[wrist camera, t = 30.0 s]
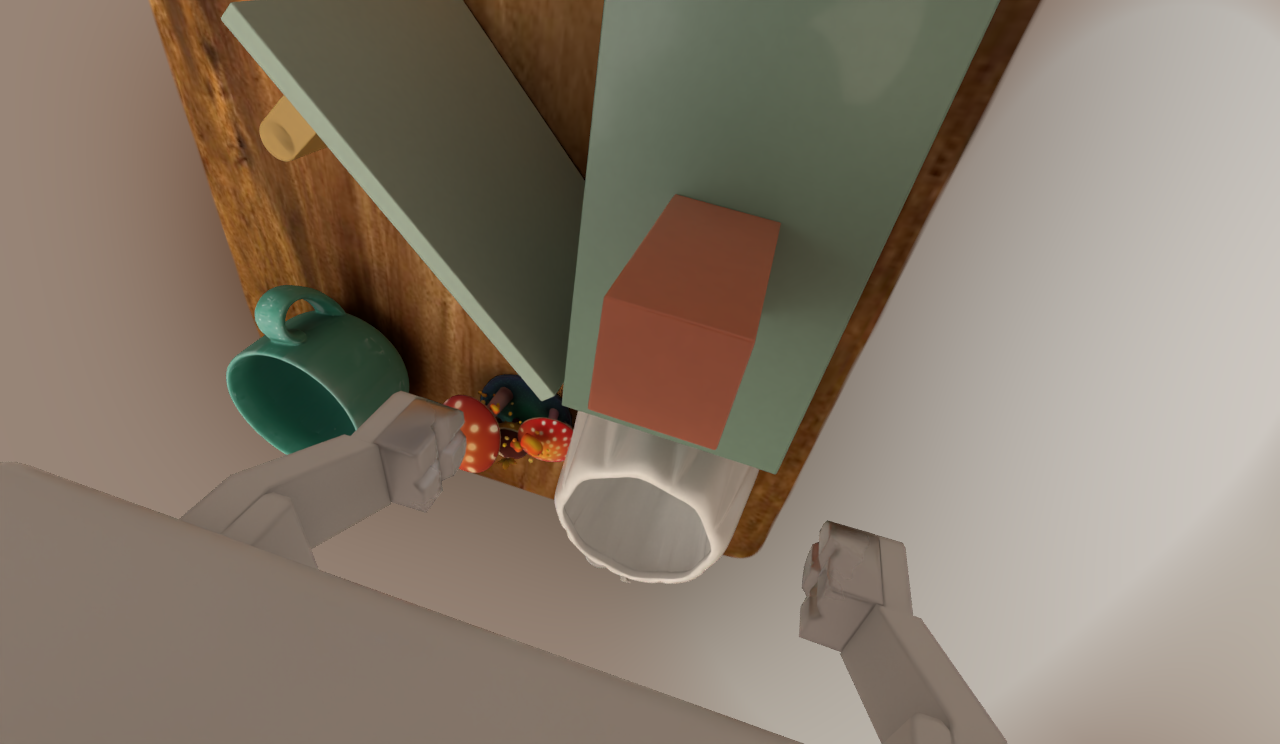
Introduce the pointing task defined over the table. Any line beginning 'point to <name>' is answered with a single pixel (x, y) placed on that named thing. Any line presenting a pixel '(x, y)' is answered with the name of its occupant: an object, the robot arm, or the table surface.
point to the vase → (648, 501)
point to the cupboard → (765, 164)
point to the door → (434, 154)
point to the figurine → (512, 425)
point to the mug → (312, 371)
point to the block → (684, 321)
